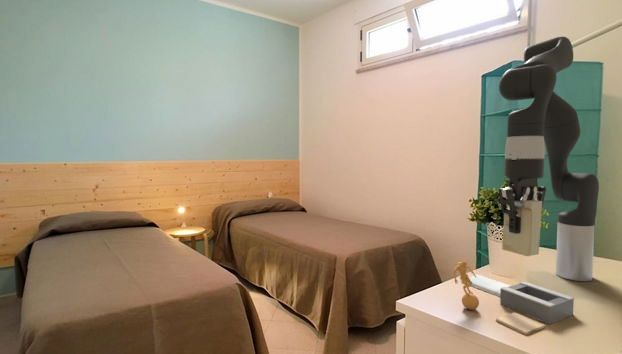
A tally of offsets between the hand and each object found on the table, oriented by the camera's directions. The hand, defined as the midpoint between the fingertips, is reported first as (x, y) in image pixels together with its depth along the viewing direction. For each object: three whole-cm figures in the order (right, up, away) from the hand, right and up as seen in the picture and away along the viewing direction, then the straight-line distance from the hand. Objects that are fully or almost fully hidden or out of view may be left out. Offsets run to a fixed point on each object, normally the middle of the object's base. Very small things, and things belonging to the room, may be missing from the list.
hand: (521, 231), depth 77 cm
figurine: (-8, -22, +10) cm, 25 cm away
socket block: (+9, -21, +9) cm, 25 cm away
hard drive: (+5, -21, +24) cm, 32 cm away
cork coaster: (0, -22, +1) cm, 22 cm away
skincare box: (0, -5, 0) cm, 5 cm away
